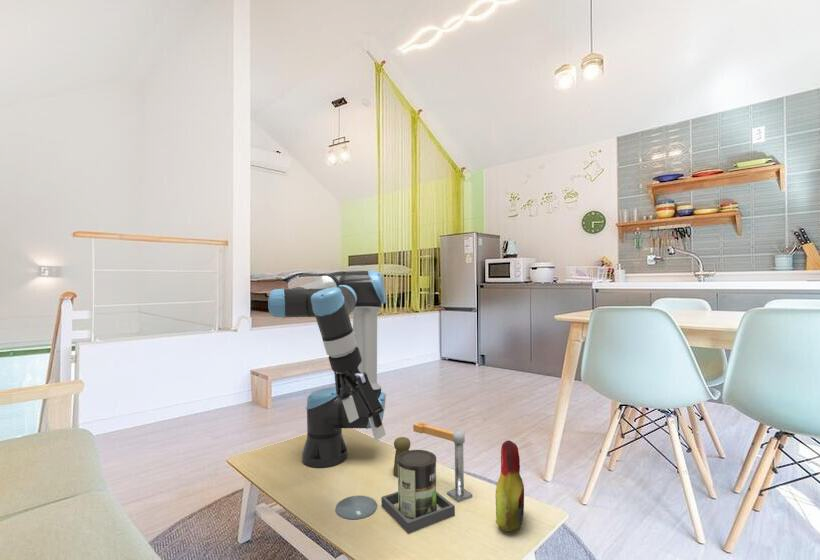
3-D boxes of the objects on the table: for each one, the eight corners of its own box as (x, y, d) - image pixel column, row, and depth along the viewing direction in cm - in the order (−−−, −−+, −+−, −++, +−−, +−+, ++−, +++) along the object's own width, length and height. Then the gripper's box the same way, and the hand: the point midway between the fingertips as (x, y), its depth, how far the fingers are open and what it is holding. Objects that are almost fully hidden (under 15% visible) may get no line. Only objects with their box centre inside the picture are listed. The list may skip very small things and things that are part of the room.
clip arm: (419, 428, 124) (419, 419, 124) (466, 441, 114) (466, 431, 114) (413, 431, 122) (413, 422, 122) (460, 444, 111) (460, 435, 111)
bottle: (506, 507, 107) (505, 432, 107) (530, 514, 104) (529, 436, 104) (490, 532, 97) (489, 448, 97) (517, 540, 94) (516, 454, 94)
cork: (394, 478, 124) (393, 443, 124) (391, 469, 130) (391, 435, 130) (413, 477, 125) (413, 441, 125) (410, 468, 131) (410, 434, 131)
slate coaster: (329, 503, 110) (329, 502, 110) (366, 492, 116) (366, 491, 116) (344, 524, 101) (344, 523, 101) (384, 511, 106) (384, 510, 106)
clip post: (447, 494, 114) (446, 441, 114) (461, 489, 117) (460, 438, 117) (458, 502, 110) (457, 448, 110) (472, 497, 113) (471, 444, 113)
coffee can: (438, 501, 110) (438, 450, 111) (434, 524, 100) (433, 467, 100) (402, 498, 112) (401, 448, 112) (394, 520, 102) (393, 464, 102)
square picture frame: (381, 506, 109) (381, 496, 109) (425, 491, 116) (425, 482, 116) (408, 533, 97) (407, 523, 97) (454, 515, 104) (454, 505, 104)
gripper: (382, 353, 89) (406, 437, 94) (334, 338, 110) (356, 407, 114) (353, 368, 85) (379, 454, 90) (309, 349, 106) (332, 420, 110)
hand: (366, 428), depth 102 cm, fingers open, 13 cm apart
